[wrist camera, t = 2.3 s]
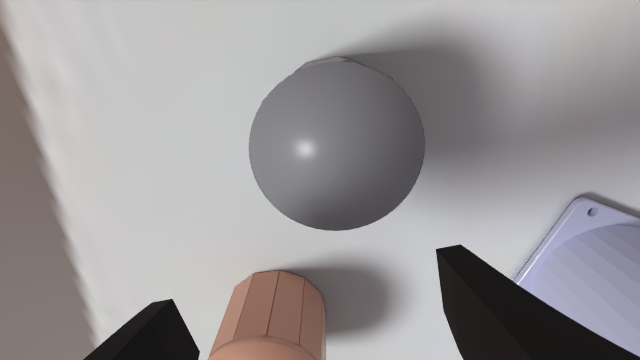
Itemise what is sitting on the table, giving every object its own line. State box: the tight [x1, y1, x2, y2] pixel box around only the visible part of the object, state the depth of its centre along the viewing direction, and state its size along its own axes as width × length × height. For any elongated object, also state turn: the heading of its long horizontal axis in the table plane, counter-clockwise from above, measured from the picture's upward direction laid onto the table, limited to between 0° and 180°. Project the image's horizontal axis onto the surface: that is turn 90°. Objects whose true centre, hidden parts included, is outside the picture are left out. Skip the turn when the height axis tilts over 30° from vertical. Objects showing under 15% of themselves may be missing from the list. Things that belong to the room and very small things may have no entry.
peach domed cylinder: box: [208, 270, 326, 360], centre depth 18 cm, size 6×6×5 cm
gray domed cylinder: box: [249, 57, 425, 231], centre depth 13 cm, size 6×6×5 cm
